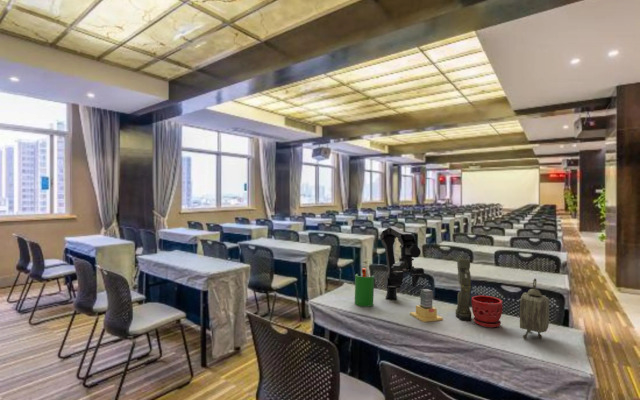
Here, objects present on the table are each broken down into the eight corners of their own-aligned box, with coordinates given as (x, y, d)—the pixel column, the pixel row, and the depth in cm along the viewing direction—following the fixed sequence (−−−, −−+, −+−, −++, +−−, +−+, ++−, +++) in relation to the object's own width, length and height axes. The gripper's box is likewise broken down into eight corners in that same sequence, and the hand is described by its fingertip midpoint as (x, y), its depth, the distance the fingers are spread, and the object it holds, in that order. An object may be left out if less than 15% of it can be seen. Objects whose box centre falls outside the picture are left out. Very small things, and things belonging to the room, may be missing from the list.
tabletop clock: (525, 329, 155) (526, 274, 155) (548, 334, 149) (550, 277, 149) (519, 339, 143) (520, 279, 143) (544, 345, 138) (546, 283, 138)
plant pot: (477, 317, 169) (477, 293, 169) (505, 324, 160) (506, 299, 160) (466, 323, 160) (466, 298, 160) (496, 331, 151) (496, 304, 151)
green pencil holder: (372, 302, 190) (373, 266, 190) (373, 307, 182) (374, 269, 182) (354, 301, 191) (355, 265, 191) (354, 306, 183) (355, 268, 183)
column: (420, 313, 169) (420, 289, 169) (427, 312, 170) (427, 288, 170) (425, 316, 165) (425, 291, 165) (432, 315, 167) (432, 291, 167)
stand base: (410, 314, 171) (410, 304, 171) (428, 312, 175) (428, 302, 175) (423, 322, 161) (423, 311, 161) (442, 319, 164) (442, 309, 164)
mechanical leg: (475, 322, 160) (473, 257, 167) (459, 320, 161) (457, 257, 168) (468, 319, 173) (467, 259, 180) (453, 318, 174) (452, 259, 181)
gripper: (383, 256, 185) (383, 285, 184) (409, 257, 170) (409, 289, 168) (397, 255, 191) (398, 283, 190) (424, 257, 176) (425, 288, 174)
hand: (407, 286), depth 180 cm, fingers open, 9 cm apart
